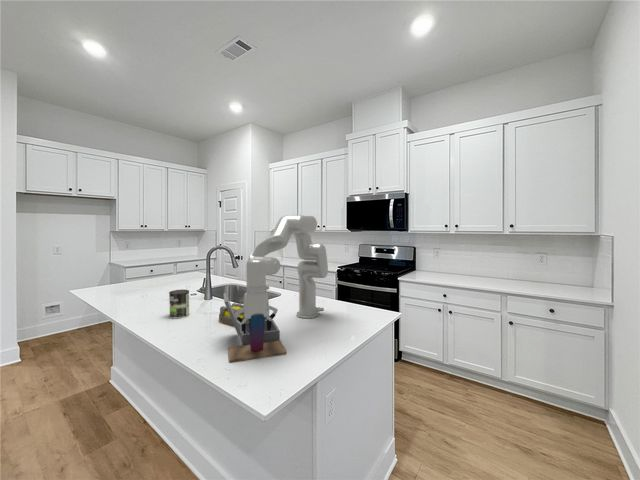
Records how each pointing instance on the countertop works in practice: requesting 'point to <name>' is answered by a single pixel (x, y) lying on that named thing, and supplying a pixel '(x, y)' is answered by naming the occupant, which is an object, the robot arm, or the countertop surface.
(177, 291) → the coffee can
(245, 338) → the equipment case
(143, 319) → the countertop surface
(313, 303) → the robot arm
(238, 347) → the walnut board
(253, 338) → the cup
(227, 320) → the cage light
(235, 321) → the case lid
